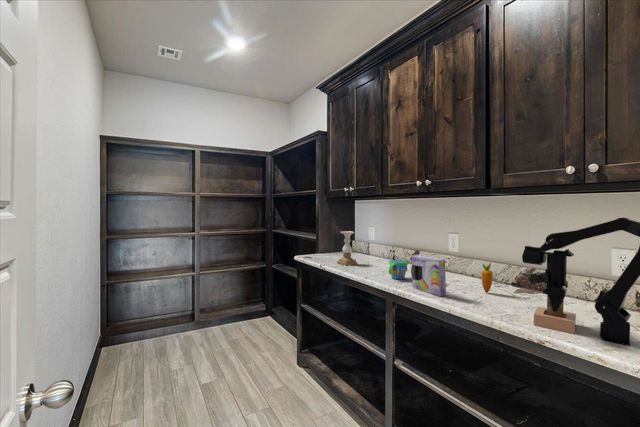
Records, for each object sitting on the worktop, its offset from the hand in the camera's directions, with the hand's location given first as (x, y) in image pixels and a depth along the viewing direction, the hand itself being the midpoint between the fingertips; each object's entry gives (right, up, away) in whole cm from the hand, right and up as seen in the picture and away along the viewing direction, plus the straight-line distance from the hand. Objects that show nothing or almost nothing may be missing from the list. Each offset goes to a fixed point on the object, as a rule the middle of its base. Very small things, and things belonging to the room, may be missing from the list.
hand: (555, 309), depth 113 cm
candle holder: (-66, -2, +115) cm, 132 cm away
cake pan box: (-32, -4, +43) cm, 54 cm away
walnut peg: (0, -3, 0) cm, 3 cm away
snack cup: (-40, -4, +70) cm, 81 cm away
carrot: (-3, -5, +41) cm, 41 cm away
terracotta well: (0, -6, 0) cm, 6 cm away
